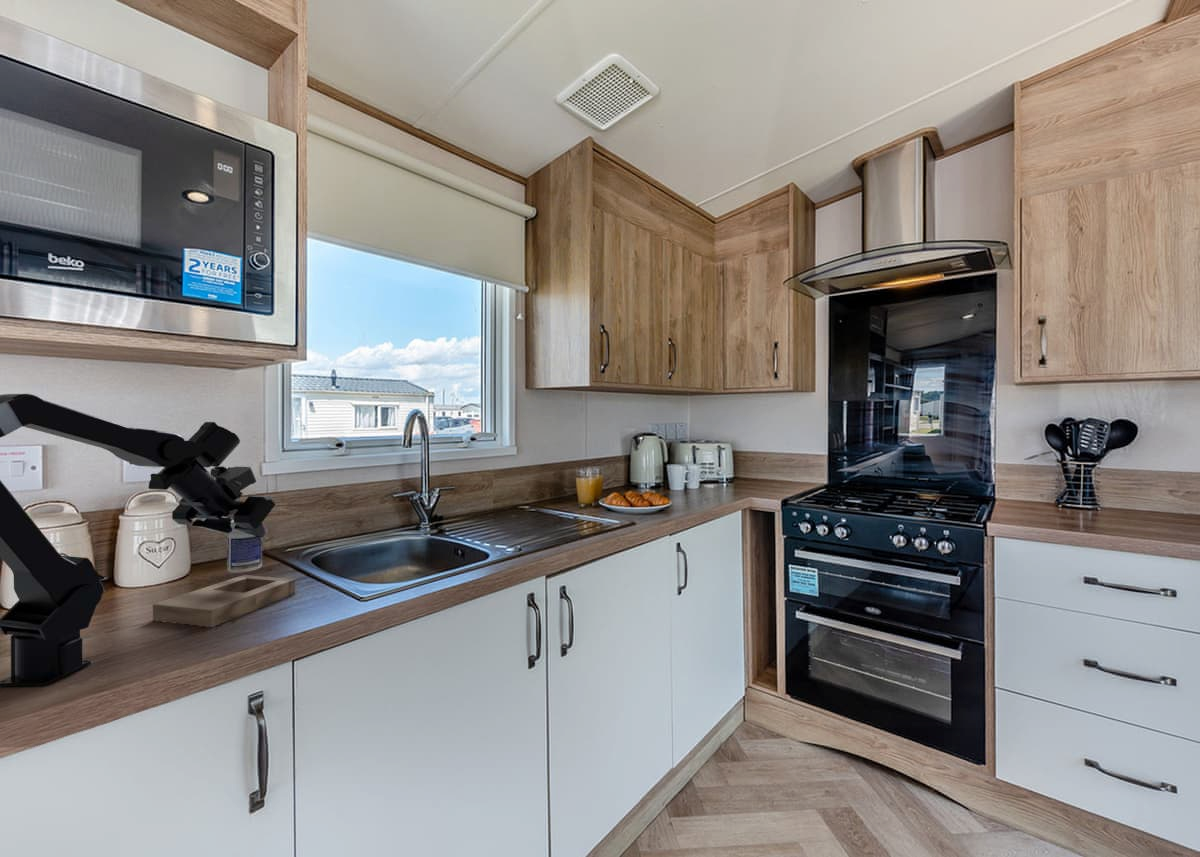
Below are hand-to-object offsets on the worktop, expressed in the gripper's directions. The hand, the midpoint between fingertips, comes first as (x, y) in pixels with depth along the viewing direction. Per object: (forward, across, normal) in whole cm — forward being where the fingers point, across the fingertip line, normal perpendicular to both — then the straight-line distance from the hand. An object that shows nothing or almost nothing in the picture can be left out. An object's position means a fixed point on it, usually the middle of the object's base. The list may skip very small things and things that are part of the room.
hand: (250, 534), depth 102 cm
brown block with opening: (+6, 0, +12) cm, 14 cm away
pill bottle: (+4, 0, +6) cm, 7 cm away
